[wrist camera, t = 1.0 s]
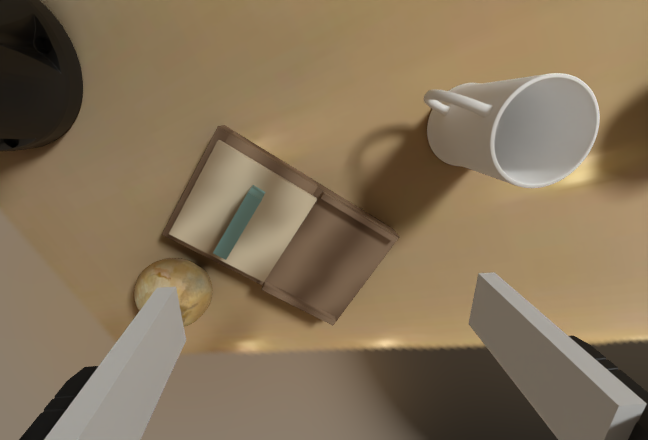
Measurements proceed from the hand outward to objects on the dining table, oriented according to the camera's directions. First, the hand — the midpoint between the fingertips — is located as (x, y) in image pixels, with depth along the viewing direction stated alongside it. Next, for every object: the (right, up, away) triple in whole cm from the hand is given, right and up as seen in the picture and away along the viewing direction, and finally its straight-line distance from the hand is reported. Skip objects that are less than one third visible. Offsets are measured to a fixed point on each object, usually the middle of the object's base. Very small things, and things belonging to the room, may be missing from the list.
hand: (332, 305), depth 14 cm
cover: (-9, +4, +19) cm, 22 cm away
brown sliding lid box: (-5, +3, +23) cm, 24 cm away
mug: (+13, +15, +20) cm, 28 cm away
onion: (-17, -3, +24) cm, 30 cm away
